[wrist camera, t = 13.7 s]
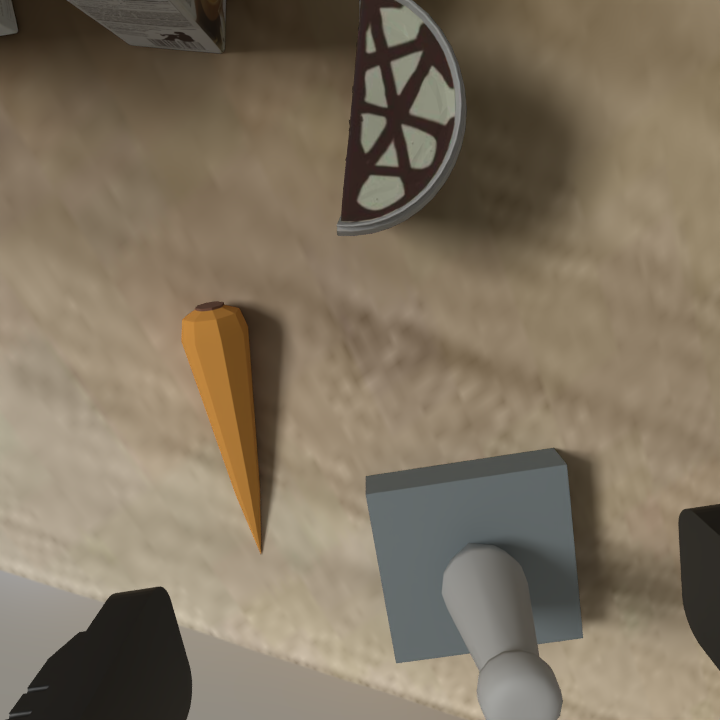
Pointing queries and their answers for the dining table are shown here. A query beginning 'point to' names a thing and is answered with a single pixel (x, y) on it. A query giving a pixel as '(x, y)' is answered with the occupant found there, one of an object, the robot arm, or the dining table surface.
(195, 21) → the coffee box
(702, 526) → the robot arm
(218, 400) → the carrot
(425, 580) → the base plinth
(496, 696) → the salt shaker
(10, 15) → the supplement box
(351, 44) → the dining table surface
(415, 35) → the food container
